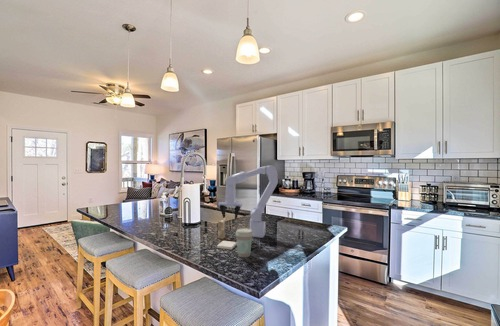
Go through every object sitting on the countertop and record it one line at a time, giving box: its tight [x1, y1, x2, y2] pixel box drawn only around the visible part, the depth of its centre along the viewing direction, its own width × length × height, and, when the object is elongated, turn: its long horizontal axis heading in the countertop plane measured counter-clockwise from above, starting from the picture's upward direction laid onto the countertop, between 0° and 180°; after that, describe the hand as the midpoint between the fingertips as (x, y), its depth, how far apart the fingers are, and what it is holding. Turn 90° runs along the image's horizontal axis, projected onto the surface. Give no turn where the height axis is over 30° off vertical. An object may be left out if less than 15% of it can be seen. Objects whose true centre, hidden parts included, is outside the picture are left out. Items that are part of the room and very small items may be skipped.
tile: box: [216, 240, 237, 250], centre depth 129 cm, size 8×2×8 cm
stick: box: [217, 219, 226, 240], centre depth 142 cm, size 3×3×10 cm
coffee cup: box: [234, 227, 253, 258], centre depth 117 cm, size 9×8×12 cm
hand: (230, 218), depth 148 cm, fingers open, 7 cm apart
